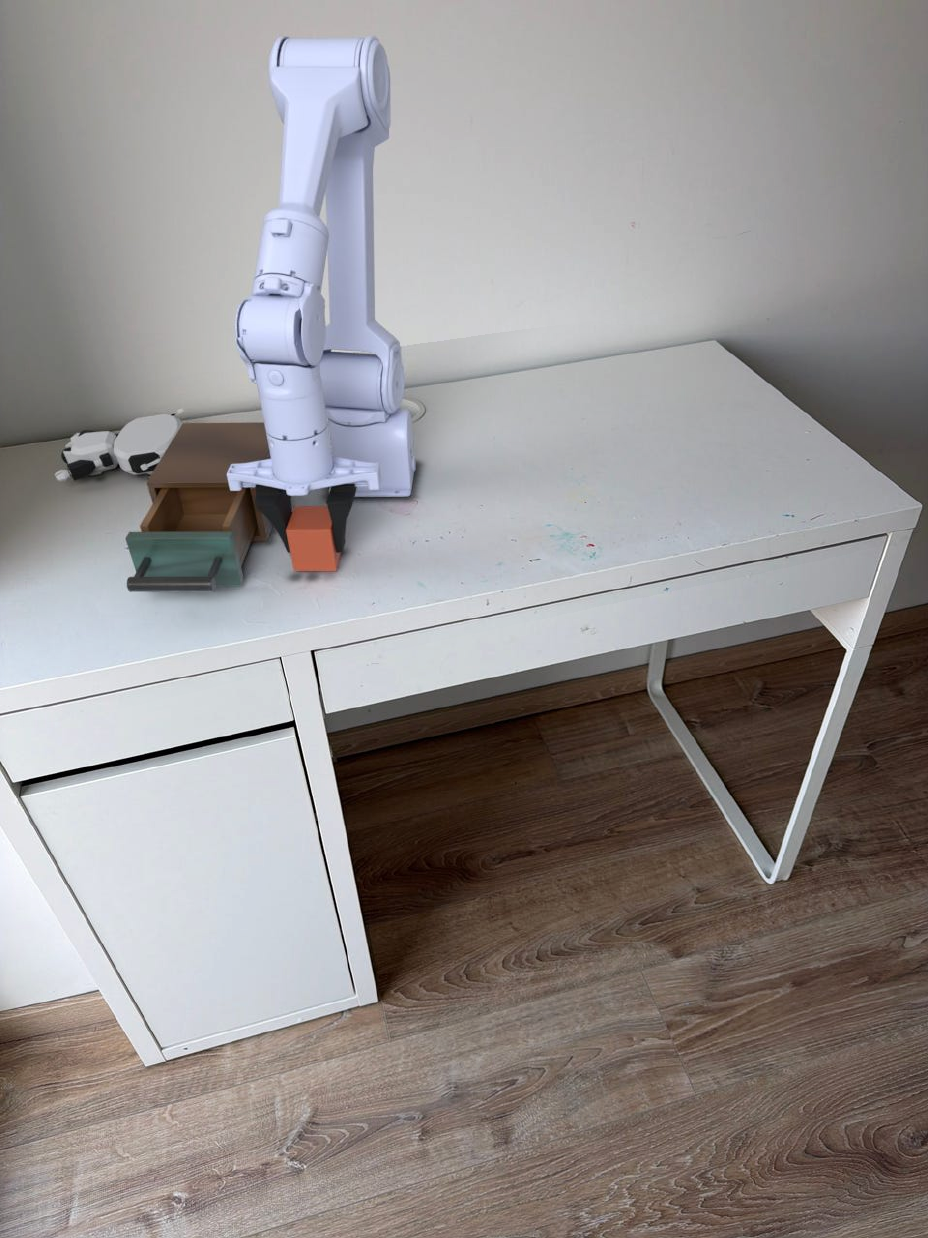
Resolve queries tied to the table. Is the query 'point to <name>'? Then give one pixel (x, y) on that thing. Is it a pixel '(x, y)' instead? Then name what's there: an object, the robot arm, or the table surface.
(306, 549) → the block
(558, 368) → the table surface
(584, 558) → the table surface
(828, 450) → the table surface
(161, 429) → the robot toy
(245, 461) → the cabinet
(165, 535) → the drawer
